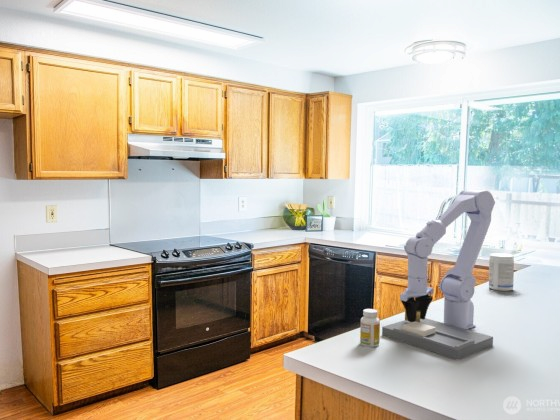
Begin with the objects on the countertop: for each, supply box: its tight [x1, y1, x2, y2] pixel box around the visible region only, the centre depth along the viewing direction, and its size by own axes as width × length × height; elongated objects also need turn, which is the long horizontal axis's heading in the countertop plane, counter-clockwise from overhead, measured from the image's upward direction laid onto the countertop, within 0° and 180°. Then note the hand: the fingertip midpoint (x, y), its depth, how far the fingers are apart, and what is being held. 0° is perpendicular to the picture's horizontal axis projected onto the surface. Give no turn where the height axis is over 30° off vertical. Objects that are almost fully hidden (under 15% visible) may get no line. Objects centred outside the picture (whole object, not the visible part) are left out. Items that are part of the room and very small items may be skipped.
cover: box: [403, 321, 436, 337], centre depth 140 cm, size 6×7×2 cm
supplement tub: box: [488, 252, 515, 292], centre depth 205 cm, size 10×10×15 cm
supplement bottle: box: [359, 308, 381, 348], centre depth 137 cm, size 5×5×10 cm
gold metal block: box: [404, 309, 420, 322], centre depth 149 cm, size 4×2×4 cm, turn 73°
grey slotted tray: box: [381, 317, 494, 361], centre depth 141 cm, size 18×25×4 cm
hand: (416, 320), depth 148 cm, fingers open, 4 cm apart
